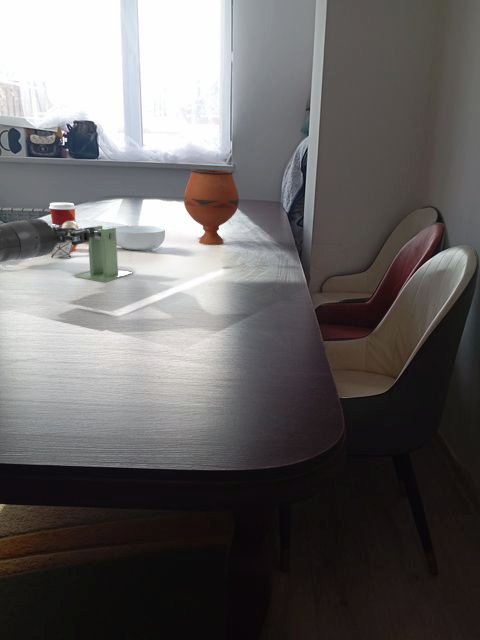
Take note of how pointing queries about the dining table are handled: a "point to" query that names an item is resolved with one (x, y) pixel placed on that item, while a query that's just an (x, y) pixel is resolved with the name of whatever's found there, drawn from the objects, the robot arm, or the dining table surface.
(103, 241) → the bracket
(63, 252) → the game die
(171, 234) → the dining table surface
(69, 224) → the lever
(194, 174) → the goblet
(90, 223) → the square plate
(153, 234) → the cereal bowl
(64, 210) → the paper cup
